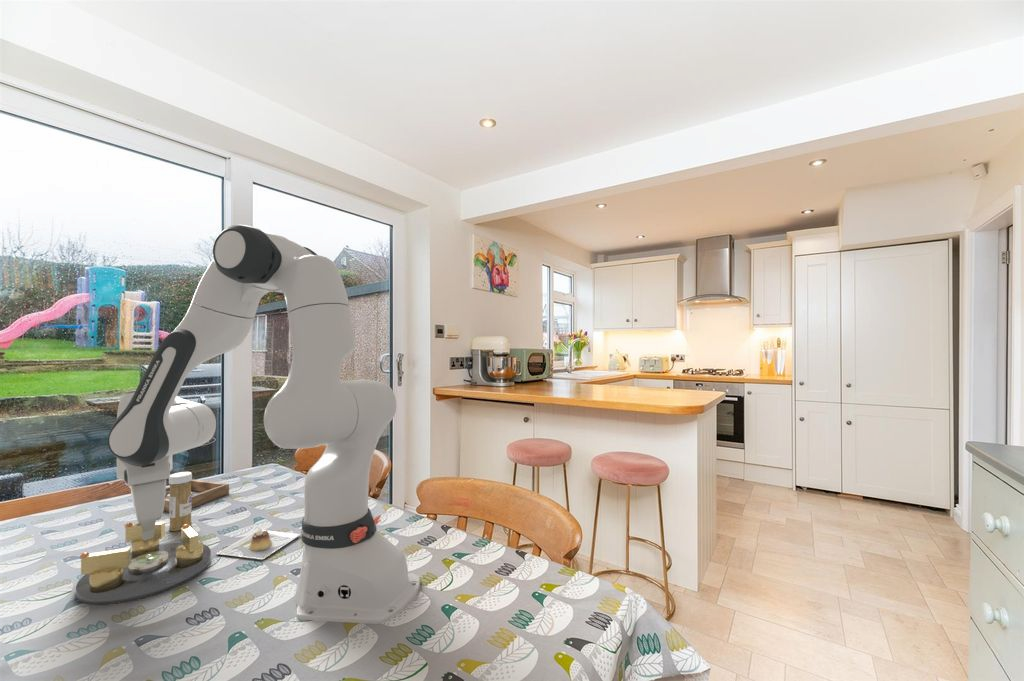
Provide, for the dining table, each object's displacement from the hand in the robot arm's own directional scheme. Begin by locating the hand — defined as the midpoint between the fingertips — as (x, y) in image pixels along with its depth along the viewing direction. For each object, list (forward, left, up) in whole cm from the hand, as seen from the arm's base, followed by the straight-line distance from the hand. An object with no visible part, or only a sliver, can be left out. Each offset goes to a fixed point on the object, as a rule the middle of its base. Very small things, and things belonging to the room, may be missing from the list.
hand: (145, 531), depth 88 cm
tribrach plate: (-6, +3, -7) cm, 10 cm away
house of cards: (+31, -28, -7) cm, 42 cm away
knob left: (-6, +10, -5) cm, 13 cm away
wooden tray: (+27, -29, -7) cm, 40 cm away
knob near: (-12, 0, -5) cm, 13 cm away
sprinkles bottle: (+10, -15, -7) cm, 19 cm away
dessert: (-17, -13, -8) cm, 22 cm away
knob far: (0, 0, -5) cm, 5 cm away
